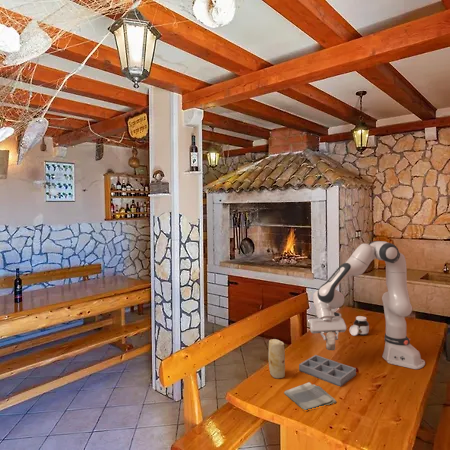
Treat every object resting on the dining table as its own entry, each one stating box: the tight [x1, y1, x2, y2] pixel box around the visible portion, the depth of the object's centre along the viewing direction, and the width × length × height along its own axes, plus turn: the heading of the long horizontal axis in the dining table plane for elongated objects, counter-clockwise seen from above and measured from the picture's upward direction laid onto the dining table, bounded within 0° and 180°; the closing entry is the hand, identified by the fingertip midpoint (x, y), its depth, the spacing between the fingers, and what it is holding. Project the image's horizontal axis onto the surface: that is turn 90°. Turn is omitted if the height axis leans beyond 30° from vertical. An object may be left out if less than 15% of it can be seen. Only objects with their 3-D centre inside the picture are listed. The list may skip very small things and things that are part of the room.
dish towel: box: [283, 381, 337, 411], centre depth 174 cm, size 19×18×3 cm
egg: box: [325, 332, 336, 351], centre depth 200 cm, size 5×5×10 cm
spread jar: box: [348, 315, 370, 337], centre depth 253 cm, size 12×11×12 cm
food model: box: [267, 338, 286, 379], centre depth 196 cm, size 10×7×20 cm
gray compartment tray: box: [298, 354, 357, 388], centre depth 198 cm, size 25×17×4 cm
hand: (331, 339), depth 200 cm, fingers closed on egg, 5 cm apart
